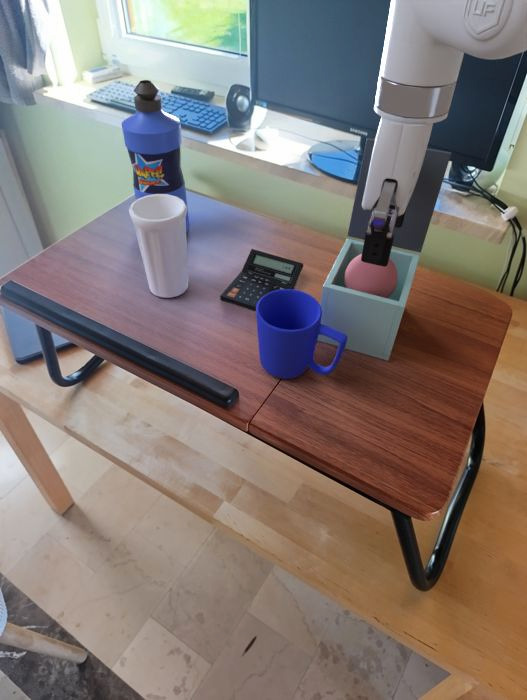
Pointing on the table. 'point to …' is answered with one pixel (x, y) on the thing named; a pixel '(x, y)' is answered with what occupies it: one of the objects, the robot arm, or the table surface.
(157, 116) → the blue bottle
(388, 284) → the light bulb
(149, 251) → the cup
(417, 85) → the robot arm
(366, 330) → the mint green open box
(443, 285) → the table surface
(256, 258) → the calculator
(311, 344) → the mug
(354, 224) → the lid
